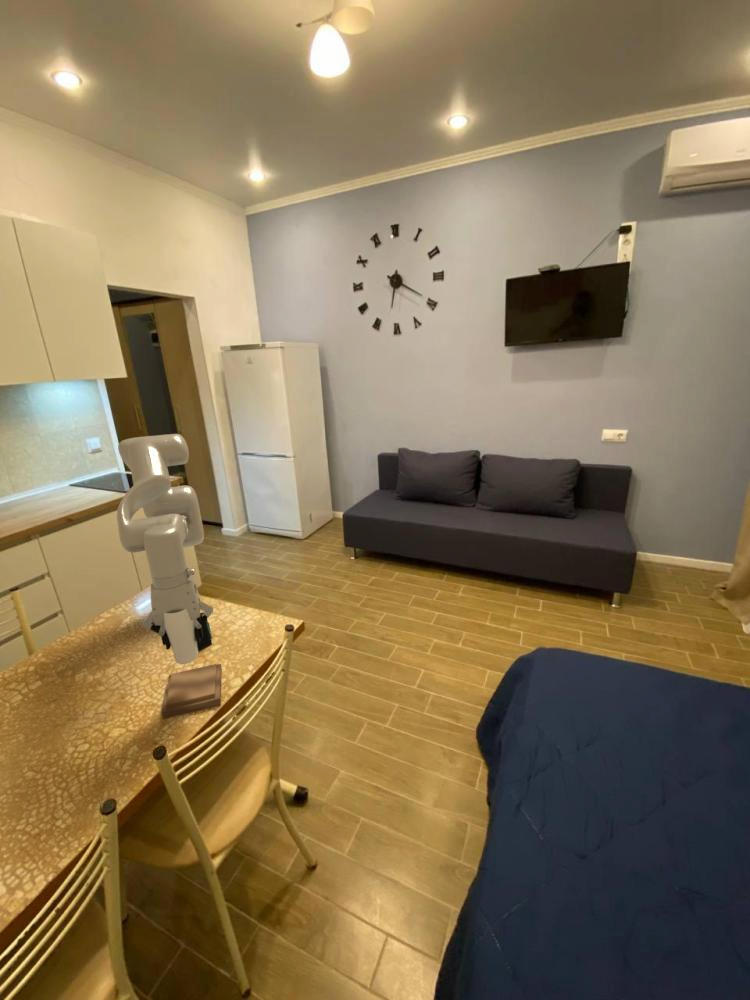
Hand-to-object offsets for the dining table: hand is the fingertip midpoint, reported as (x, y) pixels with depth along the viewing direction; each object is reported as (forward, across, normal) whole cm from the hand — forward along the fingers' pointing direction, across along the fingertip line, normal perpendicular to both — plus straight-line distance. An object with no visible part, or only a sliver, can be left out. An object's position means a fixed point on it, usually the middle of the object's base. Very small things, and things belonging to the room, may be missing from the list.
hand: (184, 642), depth 103 cm
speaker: (+16, 0, -21) cm, 26 cm away
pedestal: (+16, 0, 0) cm, 16 cm away
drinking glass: (+5, 0, 0) cm, 5 cm away
